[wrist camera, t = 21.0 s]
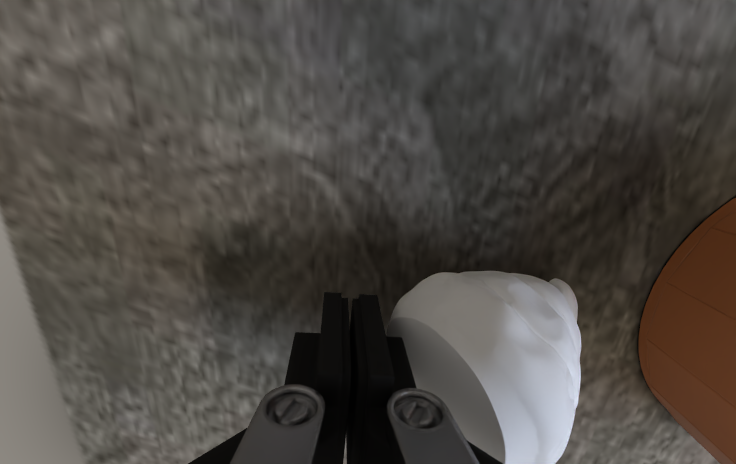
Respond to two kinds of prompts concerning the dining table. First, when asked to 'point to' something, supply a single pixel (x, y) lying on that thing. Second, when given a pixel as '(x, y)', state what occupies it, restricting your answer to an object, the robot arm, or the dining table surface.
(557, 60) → the dining table surface
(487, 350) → the white whipped cream swirl
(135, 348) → the dining table surface
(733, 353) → the pot
